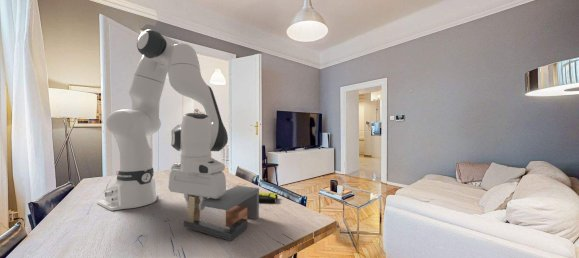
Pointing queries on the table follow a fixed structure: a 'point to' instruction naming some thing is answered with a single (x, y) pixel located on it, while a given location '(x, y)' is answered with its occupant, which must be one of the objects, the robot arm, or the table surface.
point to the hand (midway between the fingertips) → (195, 208)
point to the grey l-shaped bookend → (237, 200)
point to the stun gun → (267, 197)
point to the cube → (235, 214)
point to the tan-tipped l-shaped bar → (208, 228)
